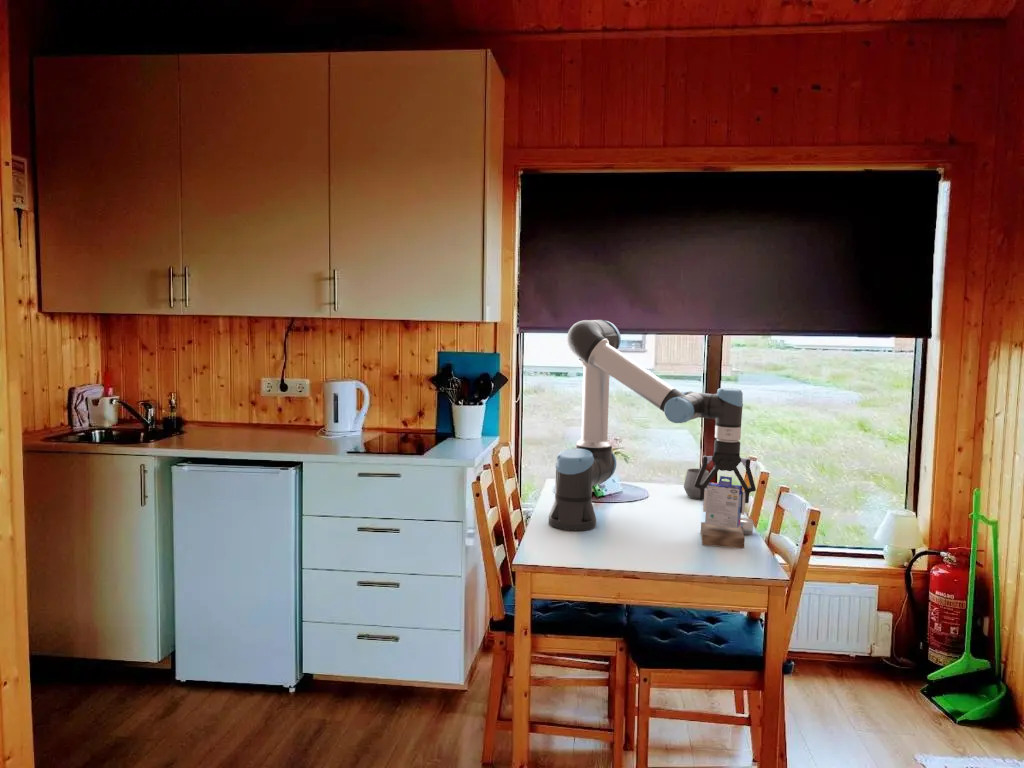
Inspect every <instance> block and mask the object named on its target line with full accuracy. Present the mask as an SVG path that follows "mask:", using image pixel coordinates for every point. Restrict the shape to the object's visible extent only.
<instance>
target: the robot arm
mask: <svg viewBox="0 0 1024 768" xmlns="http://www.w3.org/2000/svg"><path fill="white" fill-rule="evenodd" d="M621 339H622V338H621V334H620V330H619V329H618V327H616V325H615V324H614V323H612V322H610V321H608V320H603V319H589V320H588V319H584V320H580V321H577V322H576V323H574V324H573V325H572V326H571V327H570V328H569V329H568V332H567V336H566V342H567V346H568V349H569V350H570V352H571V353H572V354H574V356H576V357H577V358H578V362H579V363H580V364H581V365H582V367H583V369H582V370H583V371H582V399H581V400H582V401H581V403H582V404H581V407H582V408H581V434H580V435H581V436H580V437H581V438H580V439H579V440H578V441H577V442H576V445H575V446H576V448H571V449H570V448H569V449H568V448H567V449H564V450H561V451H560V452H559V453H558V454H557V455H556V462H555V479H554V480H555V481H554V482H555V485H554V489H555V490H554V501H553V504H552V506H551V510H550V512H549V515H548V525H549V526H550V527H552V528H554V529H558V530H564V531H575V532H576V531H578V532H579V531H587V530H588V531H589V530H591V529H594V528H596V527H597V516H596V514H595V513H596V511H595V510H594V506H593V502H592V501H593V500H592V498H593V497H592V495H593V487H594V486H596V485H599V484H603V483H605V482H607V480H609V479H610V478H612V476H613V475H614V473H615V471H616V469H617V459H616V455H615V454H614V453H613V451H612V449H613V446H612V445H613V443H612V442H610V441H609V439H608V434H609V433H608V431H609V429H608V428H609V425H608V424H609V423H608V422H609V402H610V401H609V400H610V399H609V397H610V376H611V377H612V378H614V379H615V380H616V381H618V382H619V383H621V384H622V385H623V386H625V387H627V388H628V389H630V390H631V391H633V392H634V393H636V394H637V395H639V396H640V397H641V398H643V399H644V400H646V401H647V402H649V403H650V404H652V405H653V406H655V407H656V408H658V409H659V410H661V411H662V412H663V413H664V415H665V417H666V419H667V420H668V421H669V422H671V423H673V424H683V423H687V422H690V421H691V420H695V419H698V418H701V419H712V420H715V423H714V424H715V425H714V438H715V440H714V444H713V454H712V455H709V456H707V455H706V454H705V455H703V456H702V464H701V466H700V468H699V469H700V471H699V473H698V476H697V478H696V481H695V487H697V488H699V489H700V499H699V500H700V501H703V502H702V504H703V505H702V511H703V513H706V501H707V489H705V488H706V486H707V485H708V484H709V482H710V483H711V481H712V479H713V478H714V477H715V476H716V474H717V473H718V472H719V471H722V472H724V471H726V472H732V471H733V472H734V474H735V476H736V478H737V479H738V481H739V483H740V485H741V486H742V489H743V490H742V504H741V515H745V508H746V505H745V504H749V502H750V494H751V492H752V493H753V492H756V491H757V489H756V485H755V481H754V478H753V477H754V476H753V474H752V471H751V460H750V458H749V457H746V458H743V457H741V456H740V455H741V453H740V452H741V435H742V418H743V407H744V404H743V401H744V400H743V398H744V397H743V395H744V394H743V391H742V389H739V388H733V387H731V388H730V387H728V388H727V387H720V388H718V389H717V391H716V393H706V392H696V391H695V392H694V391H679V390H678V389H677V388H675V387H673V386H672V385H670V384H669V383H667V382H666V381H665V380H663V379H662V378H660V377H659V376H658V375H656V374H654V373H652V372H651V371H650V370H648V369H646V367H644V366H642V365H640V364H639V363H637V362H636V361H634V360H633V359H632V358H631V357H628V356H627V355H626V354H624V353H623V352H621V351H620V350H619V348H620V347H621V346H620V345H621V341H622V340H621ZM711 461H712V462H713V463H714V466H713V467H712V469H711V470H710V472H709V475H708V476H707V477H706V479H705V480H704V481H703V483H702V484H700V482H701V479H702V477H703V474H704V472H705V470H707V469H706V468H707V467H708V464H710V463H711ZM741 463H742V465H743V466H744V468H745V471H746V476H747V479H748V481H749V486H748V485H747V484H746V481H745V480H744V477H743V476H742V475H741V473H740V471H739V469H738V466H739V465H740V464H741Z"/></svg>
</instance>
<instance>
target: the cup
mask: <svg viewBox="0 0 1024 768" xmlns="http://www.w3.org/2000/svg"><path fill="white" fill-rule="evenodd" d="M699 471H700V468H688V469H687V471H686V475H685V478H684V483H683V489H684V491H685V494H686V495H687V497H688V498H690V499H694V500H700V489H699V488H697V487H695V481H696V478H697V476H698V473H699ZM709 473H710V472H709V470H707V469H705V472H704V474H703V477H702V479H701V482H700V484H702V483H703V481H704V480H705V479H706V477H707V476H708V475H709ZM710 483H711V481H710V482H709V484H710ZM709 484H708V485H709ZM705 489H707V486H706V488H705Z"/></svg>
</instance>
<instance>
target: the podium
mask: <svg viewBox="0 0 1024 768" xmlns="http://www.w3.org/2000/svg"><path fill="white" fill-rule="evenodd" d="M700 538H701V545H703V546H714V547H726V548H735V547H736V548H735V549H745V541H746V540H745V535H744V534H743V531H742V528H741V525H740V526H739V527H738V528H731V527H724V526H717V525H710V524H705V521H702V522H700Z"/></svg>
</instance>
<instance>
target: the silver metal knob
mask: <svg viewBox="0 0 1024 768" xmlns="http://www.w3.org/2000/svg"><path fill="white" fill-rule="evenodd" d="M740 525H741V528H742V531H743V534H744V536H751V535H753V532H754V520H753V519H752V518H747V517H741V522H740Z"/></svg>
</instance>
